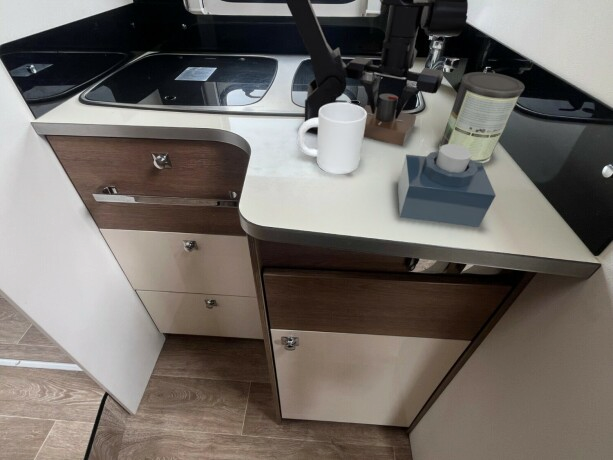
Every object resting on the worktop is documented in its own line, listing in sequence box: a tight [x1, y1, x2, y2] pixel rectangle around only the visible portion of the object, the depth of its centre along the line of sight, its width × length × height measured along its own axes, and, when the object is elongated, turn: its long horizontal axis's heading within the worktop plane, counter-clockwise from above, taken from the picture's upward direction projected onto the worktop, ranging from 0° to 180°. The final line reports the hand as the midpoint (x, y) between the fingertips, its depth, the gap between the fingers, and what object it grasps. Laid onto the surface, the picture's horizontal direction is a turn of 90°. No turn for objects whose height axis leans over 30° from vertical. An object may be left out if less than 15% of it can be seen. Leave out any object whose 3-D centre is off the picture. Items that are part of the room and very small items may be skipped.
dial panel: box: [362, 104, 417, 147], centre depth 71 cm, size 12×10×3 cm
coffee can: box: [438, 71, 526, 165], centre depth 61 cm, size 10×10×14 cm
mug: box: [296, 102, 367, 175], centre depth 58 cm, size 12×8×10 cm
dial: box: [376, 93, 399, 122], centre depth 68 cm, size 4×4×5 cm
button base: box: [397, 150, 496, 228], centre depth 50 cm, size 12×9×8 cm
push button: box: [436, 144, 472, 173], centre depth 47 cm, size 4×4×2 cm
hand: (384, 115), depth 70 cm, fingers open, 5 cm apart
